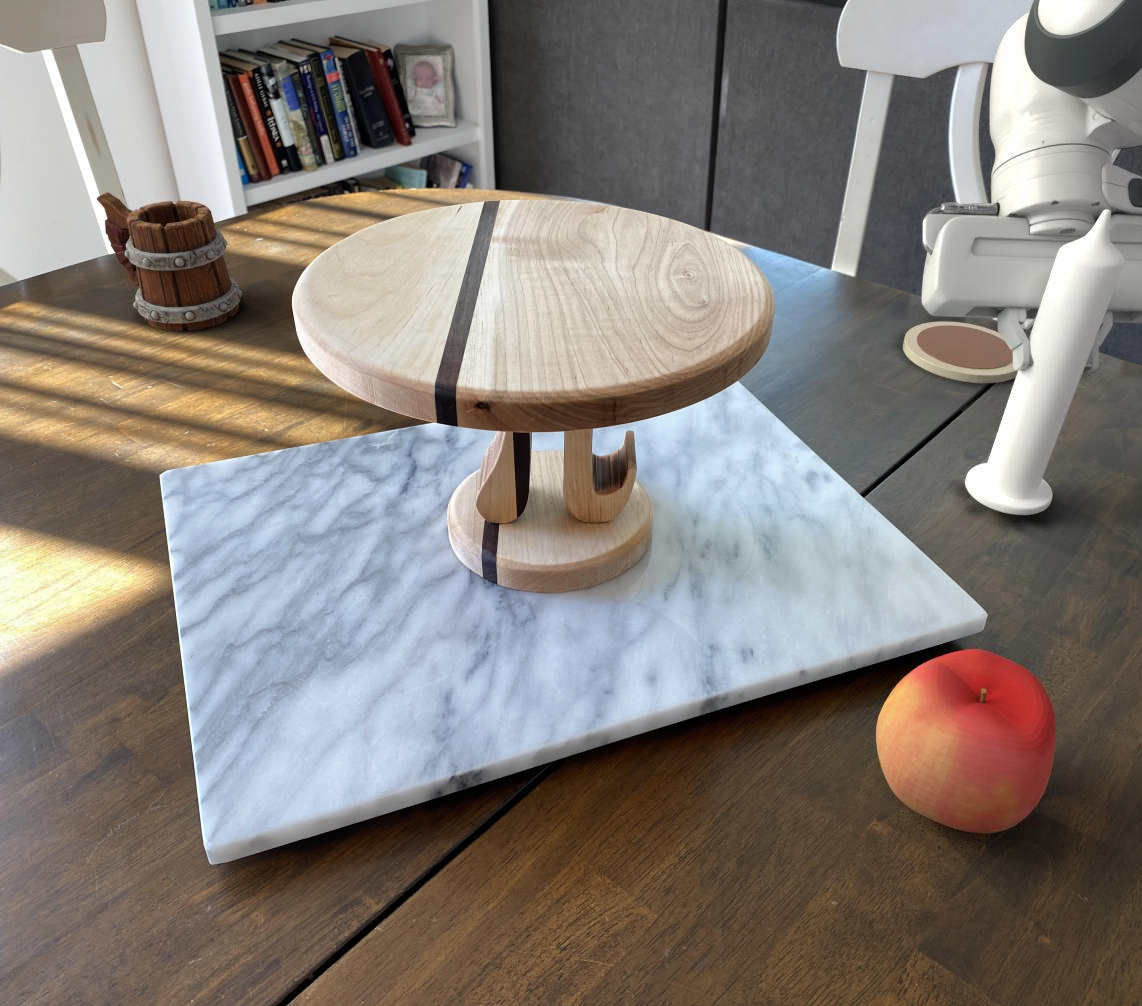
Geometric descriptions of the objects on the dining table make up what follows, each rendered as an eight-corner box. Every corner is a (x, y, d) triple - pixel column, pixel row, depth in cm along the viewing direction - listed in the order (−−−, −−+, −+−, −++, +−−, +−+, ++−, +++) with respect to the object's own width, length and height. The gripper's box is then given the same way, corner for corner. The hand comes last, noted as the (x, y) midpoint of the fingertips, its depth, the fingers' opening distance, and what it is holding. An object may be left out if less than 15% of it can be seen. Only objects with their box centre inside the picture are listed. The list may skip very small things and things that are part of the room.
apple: (914, 713, 63) (953, 603, 57) (1052, 803, 57) (1111, 692, 51) (831, 793, 58) (865, 682, 52) (974, 901, 52) (1030, 790, 46)
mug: (208, 341, 103) (156, 205, 95) (110, 340, 108) (53, 211, 100) (269, 300, 112) (227, 173, 104) (177, 300, 117) (129, 179, 109)
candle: (1067, 498, 81) (1182, 215, 66) (1017, 525, 78) (1127, 234, 63) (997, 460, 86) (1090, 187, 71) (947, 484, 83) (1034, 204, 68)
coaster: (970, 324, 112) (973, 314, 111) (1049, 374, 102) (1053, 363, 101) (879, 339, 108) (881, 328, 107) (951, 392, 98) (955, 382, 97)
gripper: (936, 183, 73) (938, 353, 71) (1201, 191, 73) (1211, 362, 71) (909, 219, 80) (910, 376, 77) (1153, 226, 79) (1161, 385, 77)
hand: (1056, 370), depth 74 cm, fingers closed on candle, 3 cm apart
